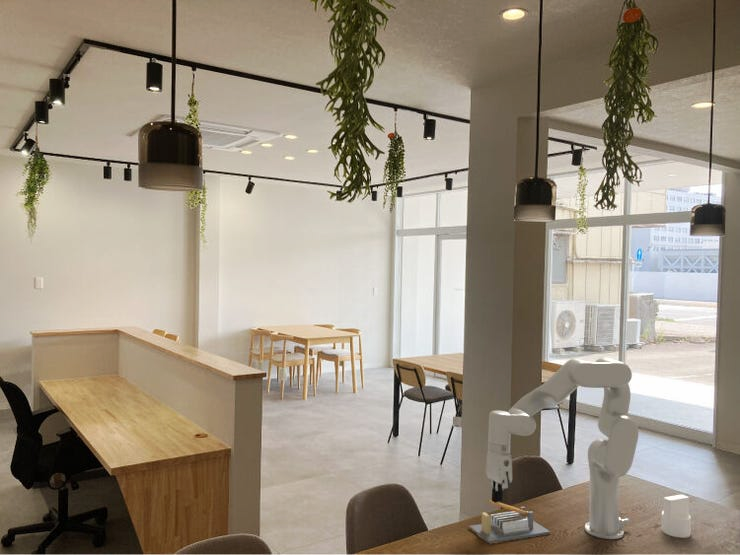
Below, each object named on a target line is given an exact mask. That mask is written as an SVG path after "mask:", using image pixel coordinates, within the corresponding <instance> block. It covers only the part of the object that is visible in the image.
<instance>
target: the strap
mask: <svg viewBox="0 0 740 555" xmlns="http://www.w3.org/2000/svg"><path fill="white" fill-rule="evenodd" d="M489 503H491V504H492V505H494V506H497V507H500V508H502V509H506V510H510V511H511V512H512V511H515V512H516V513H519V514H520V513H522V514H525V516H526V517H528V512H529V511H527V510H522V509H520V507H515V506H513V505H509V504H507V503H503V502H494V501H492V499H489Z"/></svg>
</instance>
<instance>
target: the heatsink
mask: <svg viewBox="0 0 740 555" xmlns="http://www.w3.org/2000/svg"><path fill="white" fill-rule="evenodd" d="M490 516H491V527H493V528H494V529H495V530H497V531H498V532H499V533H501V534H502V535H503V536H507V535H513V534H519V533H525V532H529V527H528V519H525V517H526V516H525V517H522V515H520V513H518V512H515V511H512V510H511V511H505V512H499V513H494V514H492V513H491V514H490Z"/></svg>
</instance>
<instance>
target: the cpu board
mask: <svg viewBox="0 0 740 555" xmlns="http://www.w3.org/2000/svg"><path fill="white" fill-rule="evenodd" d="M519 509H522V510H526V509H527V508H526V506H520V507H519ZM526 511H527V510H526ZM527 512H528V516H526V515H525V514H522V513H519V515H522V517H525V519H528V527H529V532H525V533H519V534H513V535H507V536H503V535H502V534H501V533H499V532H498V531H497V530H495V529H494V528H493V527H491V514H488V513H487V512H481V523H480V524H473V525H469V526H468V528H469V527H470V528H471V529H473V530H474V531H475V532H476V533H477V534H479V535H480V536H481V537H482V538H483V539H485V540H486V541H487V542H488V543H493V542H501V543H504V542H503V541H507V542H510V541H509V540H513V541H516V540H515V539H519V540H524V539H523V538H525V539H529V538H528V537H531V538H537V537H542V536H541V535H543V536H549V535H551V532H550V530H549V529H547V528H546V527H544V526H542V525H541V524H539V523H537V522H536V521H534V512H533V510H531V511H527ZM477 534H476V535H477ZM548 534H549V535H548ZM536 536H537V537H536ZM482 538H481V539H482ZM483 539H482V540H483ZM487 542H486V543H487ZM488 543H487V544H488Z"/></svg>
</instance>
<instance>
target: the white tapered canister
mask: <svg viewBox="0 0 740 555" xmlns="http://www.w3.org/2000/svg"><path fill="white" fill-rule="evenodd" d="M662 508H663V510H662V511H661V531H662V532H663V533H664V534H666V535H668V536H671V537H674V538H689V537H690V536H691V535H692V534H691V533H692V532H691V529H692V528H691V527H692V526H691V525H692V522H691V520H692V517H691V515H690V497H689V496H687V495H685V494H677V495H675V494H674V495H671V496H670V495H669V496H664V497H663V507H662Z"/></svg>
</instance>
